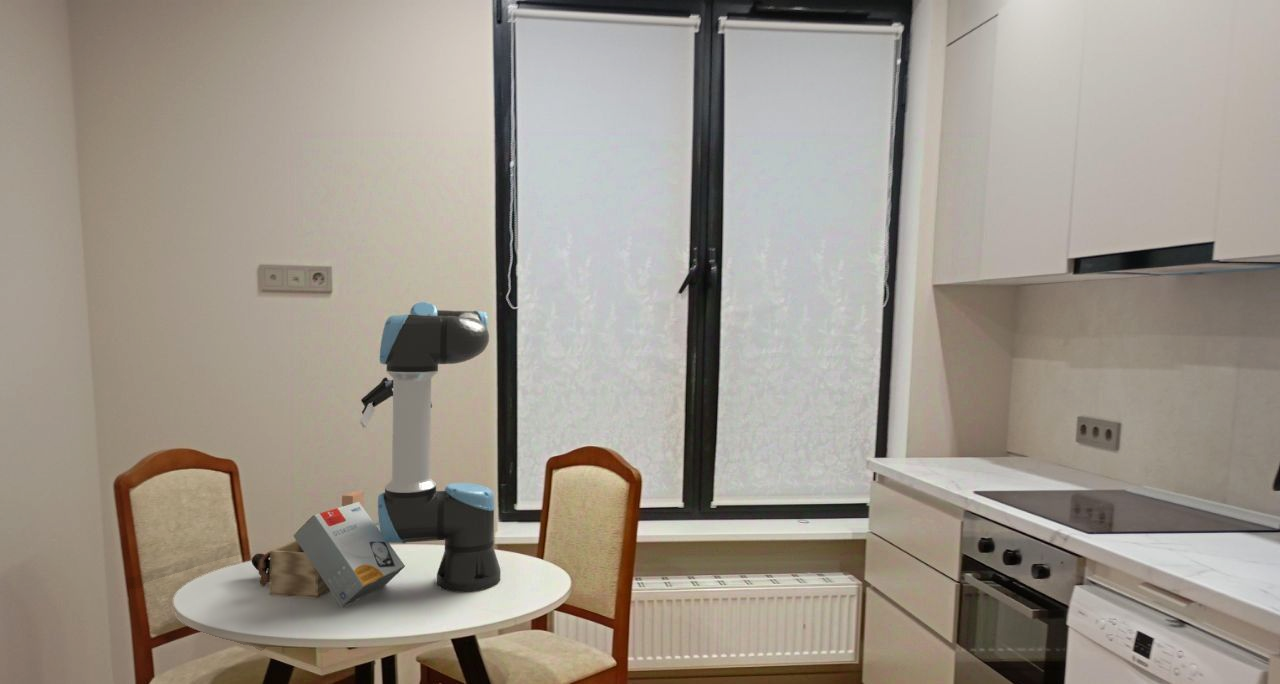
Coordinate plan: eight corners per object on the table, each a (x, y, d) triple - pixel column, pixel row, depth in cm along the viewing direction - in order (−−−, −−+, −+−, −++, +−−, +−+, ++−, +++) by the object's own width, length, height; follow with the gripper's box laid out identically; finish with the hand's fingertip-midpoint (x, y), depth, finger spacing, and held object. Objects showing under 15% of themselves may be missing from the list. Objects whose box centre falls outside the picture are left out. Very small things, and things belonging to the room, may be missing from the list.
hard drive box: (364, 587, 142) (311, 515, 146) (341, 609, 143) (290, 537, 147) (407, 565, 157) (358, 500, 161) (386, 585, 158) (338, 520, 162)
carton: (353, 577, 163) (353, 536, 163) (317, 598, 149) (318, 554, 149) (308, 574, 165) (309, 534, 165) (269, 595, 151) (270, 551, 151)
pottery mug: (307, 574, 166) (306, 551, 162) (281, 603, 158) (279, 580, 154) (264, 560, 167) (262, 536, 163) (236, 588, 159) (233, 564, 155)
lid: (379, 524, 175) (380, 492, 175) (348, 539, 160) (348, 505, 160) (335, 521, 176) (336, 490, 177) (300, 536, 162) (301, 503, 162)
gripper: (457, 378, 195) (433, 435, 180) (378, 376, 199) (348, 432, 184) (449, 360, 190) (424, 417, 175) (369, 359, 194) (337, 415, 179)
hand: (385, 425), depth 180 cm, fingers open, 13 cm apart
